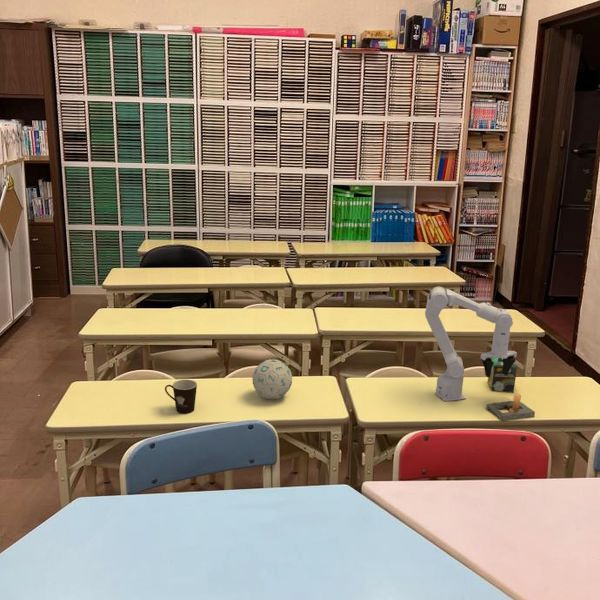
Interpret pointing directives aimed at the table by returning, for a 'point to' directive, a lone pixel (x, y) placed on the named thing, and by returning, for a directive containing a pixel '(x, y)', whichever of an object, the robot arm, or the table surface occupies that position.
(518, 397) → the peg
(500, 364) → the chalk box
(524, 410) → the keyhole plate
